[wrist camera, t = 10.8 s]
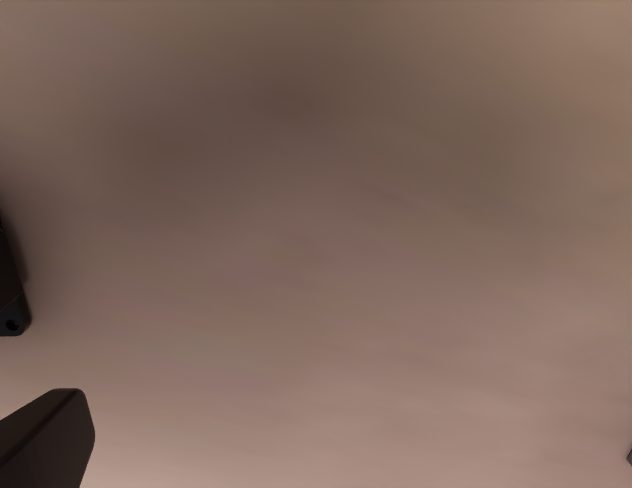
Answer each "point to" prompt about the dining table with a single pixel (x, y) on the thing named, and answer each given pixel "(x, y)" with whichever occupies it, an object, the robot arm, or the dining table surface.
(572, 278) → the dining table surface
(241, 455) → the dining table surface
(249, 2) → the dining table surface
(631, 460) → the stand
